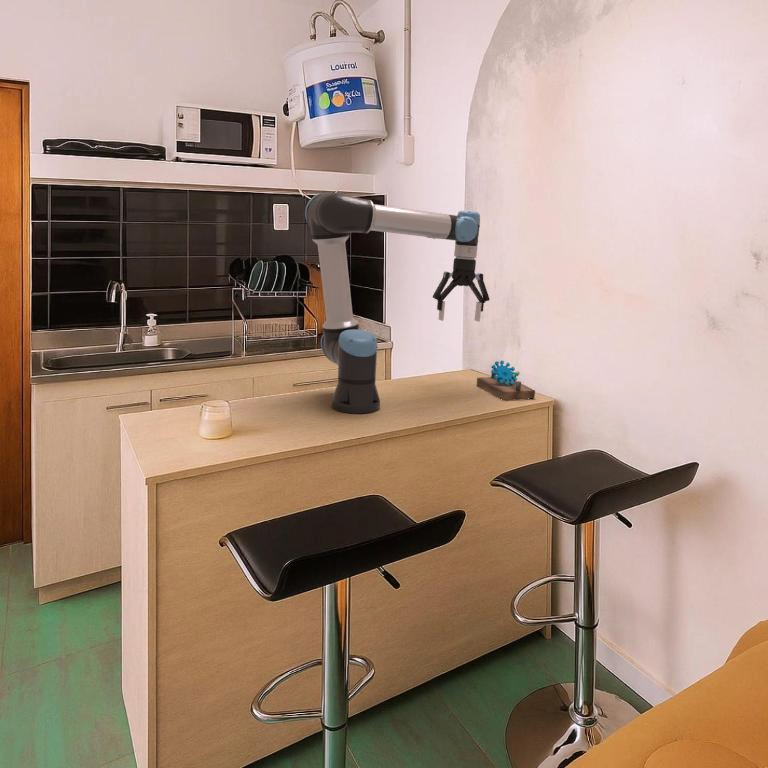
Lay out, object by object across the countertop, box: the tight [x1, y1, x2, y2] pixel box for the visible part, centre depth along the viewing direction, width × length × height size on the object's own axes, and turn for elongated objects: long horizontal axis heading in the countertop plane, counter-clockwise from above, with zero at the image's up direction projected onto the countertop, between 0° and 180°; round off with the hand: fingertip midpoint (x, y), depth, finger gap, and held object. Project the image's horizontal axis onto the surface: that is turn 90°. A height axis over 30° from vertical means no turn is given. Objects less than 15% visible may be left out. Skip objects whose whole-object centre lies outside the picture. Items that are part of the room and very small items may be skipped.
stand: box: [476, 368, 536, 401], centre depth 236 cm, size 12×20×6 cm, turn 18°
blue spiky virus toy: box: [490, 359, 520, 386], centre depth 237 cm, size 11×6×10 cm
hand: (459, 320), depth 232 cm, fingers open, 13 cm apart
